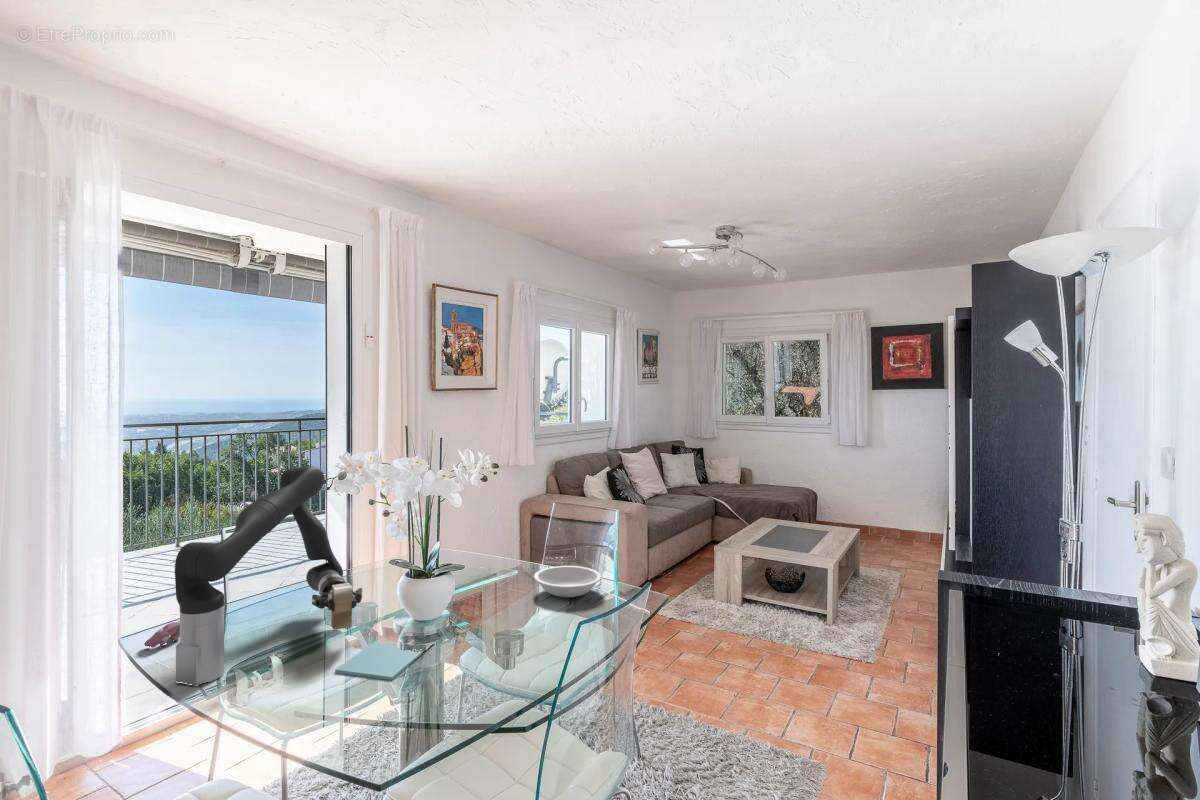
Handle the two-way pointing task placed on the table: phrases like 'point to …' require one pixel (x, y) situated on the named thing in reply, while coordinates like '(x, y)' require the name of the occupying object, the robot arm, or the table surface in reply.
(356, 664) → the board
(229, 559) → the robot arm
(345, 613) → the wooden block
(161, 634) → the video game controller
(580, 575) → the soup bowl
